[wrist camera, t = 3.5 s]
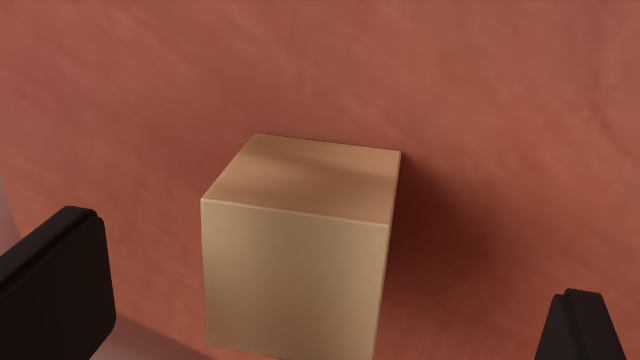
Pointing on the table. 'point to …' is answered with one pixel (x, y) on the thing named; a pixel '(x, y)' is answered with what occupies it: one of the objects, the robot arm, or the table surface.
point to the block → (298, 248)
